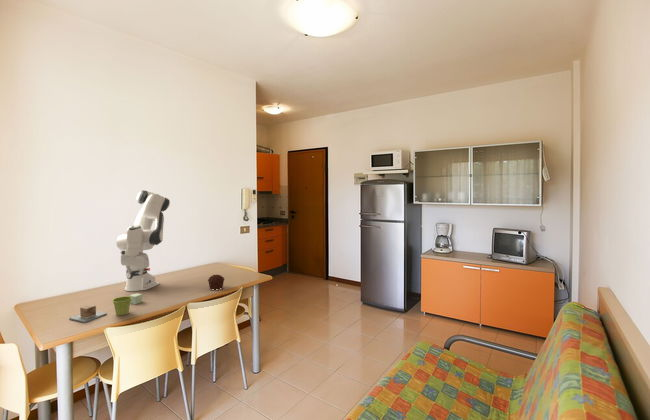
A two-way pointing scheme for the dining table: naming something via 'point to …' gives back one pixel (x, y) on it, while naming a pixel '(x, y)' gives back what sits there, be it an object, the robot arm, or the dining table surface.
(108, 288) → the dining table surface
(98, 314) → the pad
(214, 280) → the muffin
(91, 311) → the block
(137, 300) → the block
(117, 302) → the plant pot
